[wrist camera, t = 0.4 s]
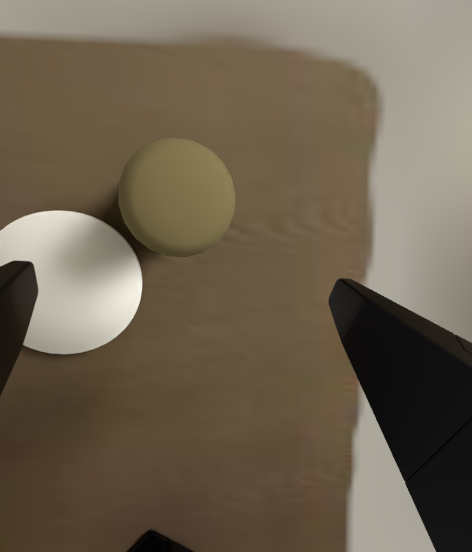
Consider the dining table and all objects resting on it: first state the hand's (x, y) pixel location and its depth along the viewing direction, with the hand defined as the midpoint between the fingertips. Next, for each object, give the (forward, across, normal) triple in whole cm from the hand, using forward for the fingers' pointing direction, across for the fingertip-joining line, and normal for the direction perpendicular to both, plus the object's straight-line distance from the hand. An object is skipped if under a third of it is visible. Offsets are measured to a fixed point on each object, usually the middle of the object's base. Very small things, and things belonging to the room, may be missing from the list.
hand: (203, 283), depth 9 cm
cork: (+15, 0, +4) cm, 15 cm away
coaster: (+12, +7, +9) cm, 17 cm away
